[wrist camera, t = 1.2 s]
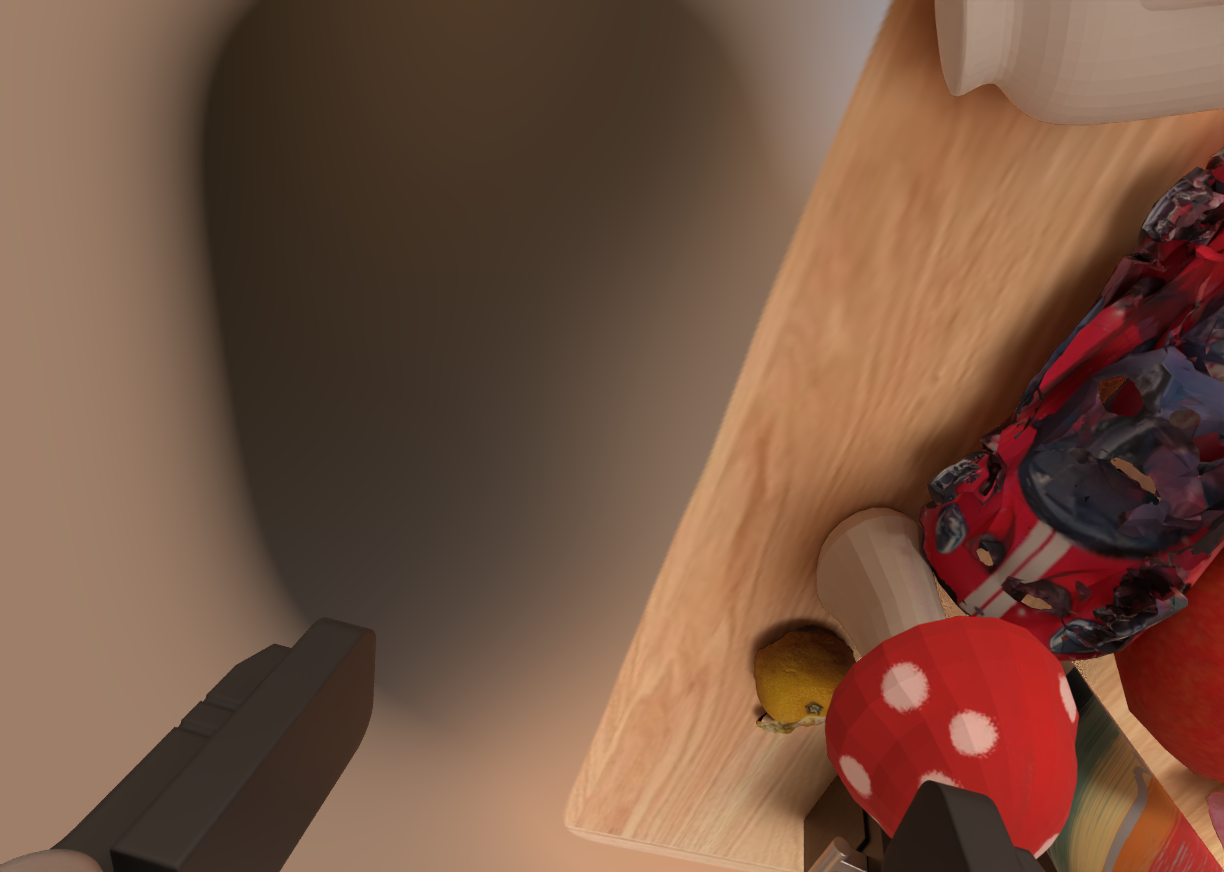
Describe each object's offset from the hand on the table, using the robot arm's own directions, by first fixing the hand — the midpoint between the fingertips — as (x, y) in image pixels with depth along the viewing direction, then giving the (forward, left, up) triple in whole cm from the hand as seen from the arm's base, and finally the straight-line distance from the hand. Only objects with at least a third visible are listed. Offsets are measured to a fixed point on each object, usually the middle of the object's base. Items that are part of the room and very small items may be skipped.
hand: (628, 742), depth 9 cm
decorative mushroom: (+15, +9, -21) cm, 28 cm away
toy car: (+5, +17, -15) cm, 24 cm away
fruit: (+24, +6, -22) cm, 33 cm away
